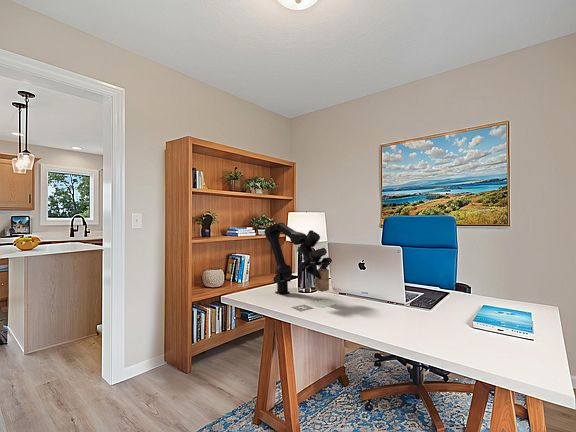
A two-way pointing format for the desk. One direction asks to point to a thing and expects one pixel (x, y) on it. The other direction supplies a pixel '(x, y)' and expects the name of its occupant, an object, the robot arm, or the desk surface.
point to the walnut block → (322, 280)
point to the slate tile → (302, 308)
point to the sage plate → (322, 303)
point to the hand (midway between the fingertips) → (324, 278)
